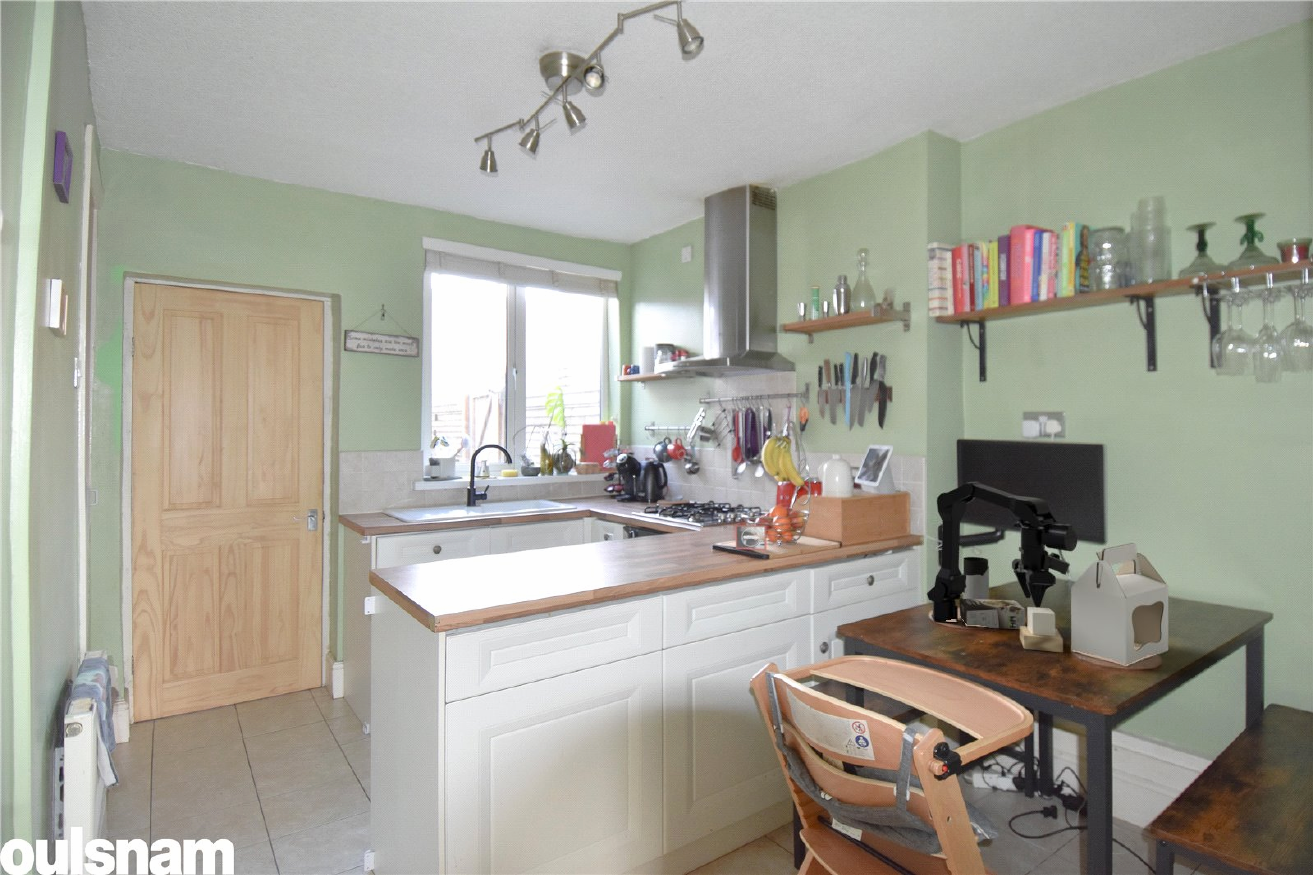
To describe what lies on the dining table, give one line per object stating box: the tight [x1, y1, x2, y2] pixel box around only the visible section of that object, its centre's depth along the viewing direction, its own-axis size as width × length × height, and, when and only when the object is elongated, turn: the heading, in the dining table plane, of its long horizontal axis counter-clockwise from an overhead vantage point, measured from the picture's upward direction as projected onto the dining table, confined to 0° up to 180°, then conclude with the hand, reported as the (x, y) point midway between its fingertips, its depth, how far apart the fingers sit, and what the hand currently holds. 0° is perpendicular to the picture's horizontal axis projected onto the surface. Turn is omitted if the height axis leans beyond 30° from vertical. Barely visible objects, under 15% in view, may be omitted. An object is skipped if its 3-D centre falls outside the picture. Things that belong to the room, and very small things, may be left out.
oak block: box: [1019, 625, 1064, 653], centre depth 182 cm, size 9×9×4 cm
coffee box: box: [958, 598, 1026, 630], centre depth 201 cm, size 9×6×16 cm
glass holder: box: [961, 556, 990, 600], centre depth 224 cm, size 9×14×15 cm, turn 67°
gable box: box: [1070, 542, 1169, 665], centre depth 176 cm, size 22×13×28 cm, turn 120°
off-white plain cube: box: [1026, 606, 1056, 636], centre depth 182 cm, size 5×5×6 cm
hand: (1032, 602), depth 181 cm, fingers open, 9 cm apart
